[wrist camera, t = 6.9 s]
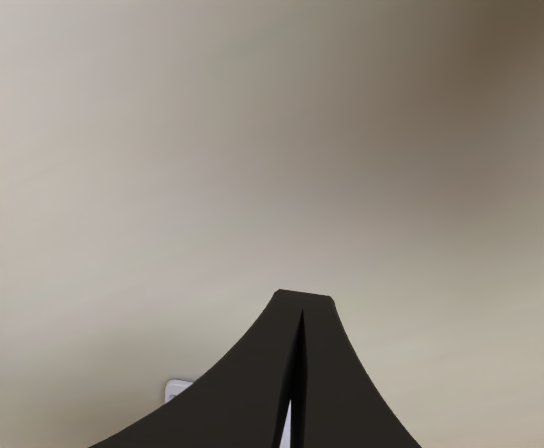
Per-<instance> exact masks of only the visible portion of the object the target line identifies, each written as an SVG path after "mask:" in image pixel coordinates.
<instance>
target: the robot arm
mask: <svg viewBox="0 0 544 448" xmlns="http://www.w3.org/2000/svg"><path fill="white" fill-rule="evenodd" d="M173 395H176V396H173ZM89 448H422V447H421V446H420V445H419V444H418V443H417V442H416V441H415V440H414V438H413V437H412V436H411V435H410V434H409V432H408V431H407V430H406V429H405V427H404V426H403V425H402V424H401V422H400V421H399V420H398V419H397V417H396V416H395V415H394V413H393V412H392V410H391V409H390V408H389V406H388V405H387V404H386V402H385V401H384V399H383V398H382V396H381V395H380V393H379V392H378V390H377V389H376V387H375V386H374V384H373V382H372V381H371V379H370V378H369V376H368V374H367V373H366V371H365V369H364V367H363V366H362V364H361V362H360V360H359V359H358V357H357V355H356V353H355V351H354V349H353V347H352V345H351V343H350V341H349V339H348V337H347V335H346V332H345V330H344V328H343V325H342V323H341V321H340V318H339V316H338V313H337V310H336V307H335V303H334V300H333V299H332V298H331V297H330V296H325V295H318V294H311V293H304V292H297V291H290V290H283V289H279V290H278V291H276V292H274V295H273V297H272V298H271V300H270V302H269V303H268V305H267V306H266V308H265V309H264V310H263V312H262V313H261V315H260V316H259V317H258V319H257V320H256V321H255V322H254V323H253V325H252V326H251V327H250V328H249V329H248V331H247V332H246V333H245V334H244V335H243V337H242V338H241V339H240V340H239V341H238V342H237V343H236V344H235V345H234V346H233V347H232V348H231V349H230V350H229V351H228V352H227V353H226V354H225V355H224V356H223V357H222V358H221V359H220V360H219V361H218V362H217V363H216V364H215V365H214V366H213V367H212V368H210V369H209V370H208V371H207V372H206V373H205V374H204V375H202V376H201V377H200V378H199V379H198V380H196V381H195V382H194V383H192V382H186V381H181V380H170V381H168V382H167V385H166V387H165V404H164V405H163V406H161V407H160V408H158V409H157V410H155V411H154V412H152V413H150V414H149V415H147V416H145V417H144V418H142V419H140V420H139V421H137V422H135V423H134V424H132V425H130V426H129V427H127V428H125V429H124V430H122V431H120V432H119V433H117V434H115V435H113V436H111V437H109V438H107V439H105V440H103V441H101V442H99V443H97V444H95V445H93V446H91V447H89Z"/></svg>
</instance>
